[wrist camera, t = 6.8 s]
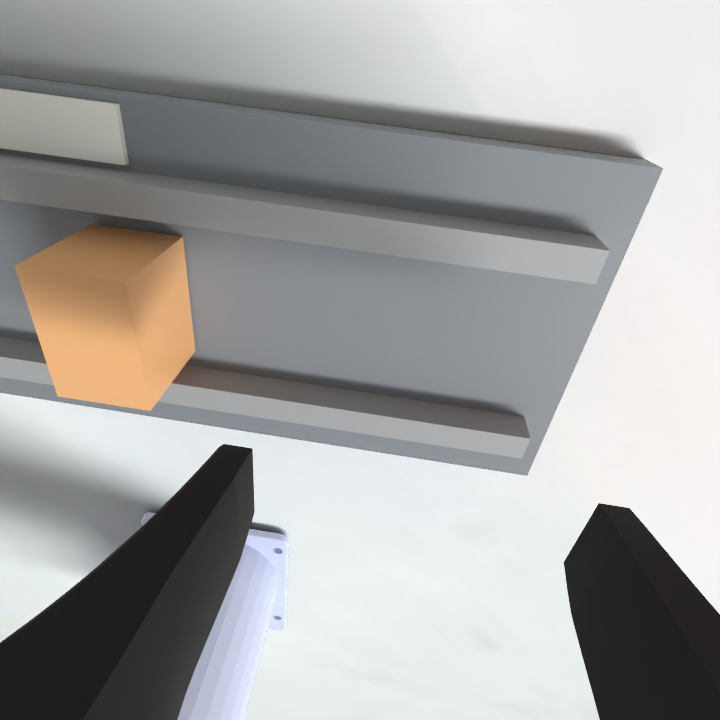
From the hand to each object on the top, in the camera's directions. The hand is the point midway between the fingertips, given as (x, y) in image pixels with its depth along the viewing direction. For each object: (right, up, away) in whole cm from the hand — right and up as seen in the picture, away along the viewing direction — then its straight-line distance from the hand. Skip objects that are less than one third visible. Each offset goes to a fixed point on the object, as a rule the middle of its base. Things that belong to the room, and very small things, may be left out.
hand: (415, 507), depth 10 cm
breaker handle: (-9, +6, +6) cm, 12 cm away
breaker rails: (-5, +6, +7) cm, 11 cm away
